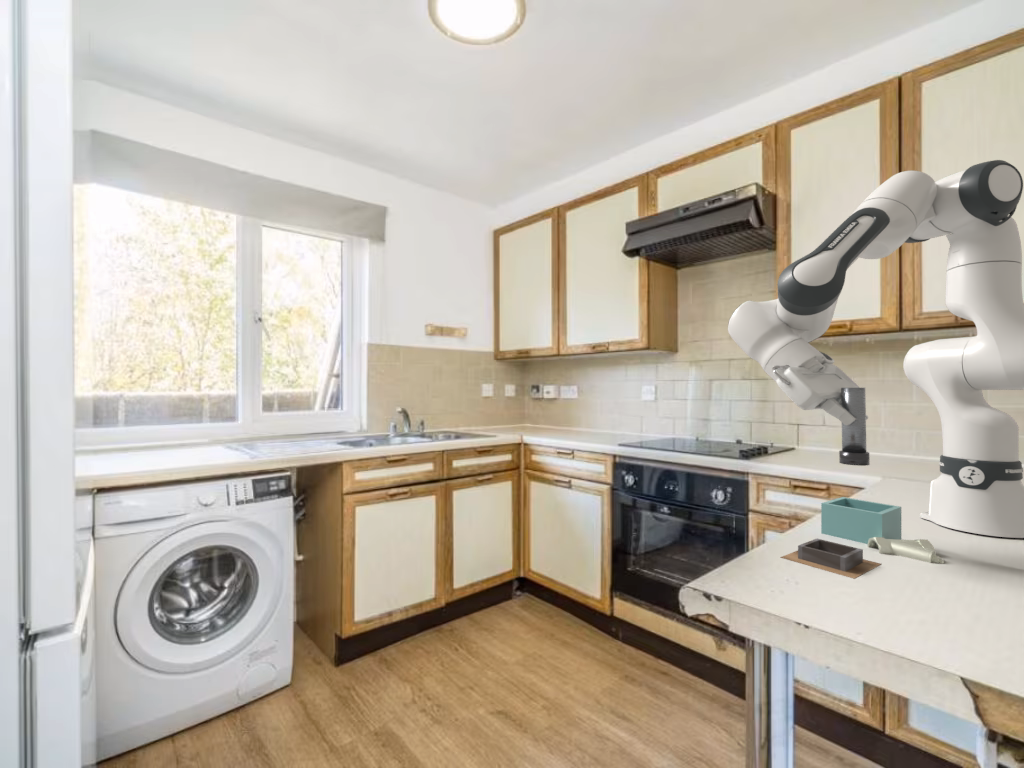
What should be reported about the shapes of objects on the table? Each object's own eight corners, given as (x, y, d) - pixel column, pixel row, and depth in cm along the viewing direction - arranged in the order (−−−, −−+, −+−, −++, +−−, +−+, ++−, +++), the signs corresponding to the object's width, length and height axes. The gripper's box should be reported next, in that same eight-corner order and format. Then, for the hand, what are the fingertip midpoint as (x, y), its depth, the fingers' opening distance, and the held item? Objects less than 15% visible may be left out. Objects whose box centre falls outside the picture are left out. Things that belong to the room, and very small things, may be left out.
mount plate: (809, 554, 80) (810, 533, 80) (881, 573, 72) (881, 550, 72) (780, 566, 75) (780, 544, 75) (854, 589, 66) (854, 564, 66)
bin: (842, 533, 93) (842, 496, 93) (901, 546, 85) (901, 506, 85) (821, 541, 87) (821, 503, 88) (881, 556, 80) (881, 514, 80)
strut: (845, 460, 85) (844, 387, 85) (873, 463, 81) (872, 387, 81) (835, 463, 82) (833, 387, 82) (863, 466, 79) (862, 387, 79)
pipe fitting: (950, 577, 73) (920, 558, 79) (952, 552, 72) (921, 535, 79) (892, 574, 74) (867, 555, 80) (893, 549, 73) (868, 533, 80)
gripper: (781, 352, 81) (848, 412, 73) (832, 355, 93) (895, 406, 85) (755, 379, 85) (816, 438, 77) (808, 378, 97) (865, 430, 89)
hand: (858, 421), depth 81 cm, fingers closed on strut, 3 cm apart
